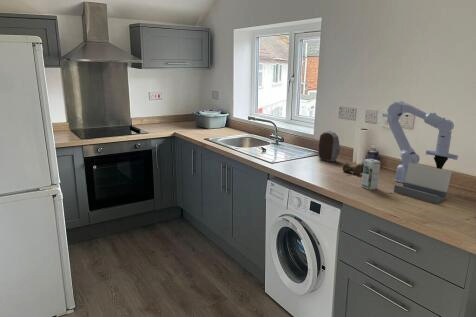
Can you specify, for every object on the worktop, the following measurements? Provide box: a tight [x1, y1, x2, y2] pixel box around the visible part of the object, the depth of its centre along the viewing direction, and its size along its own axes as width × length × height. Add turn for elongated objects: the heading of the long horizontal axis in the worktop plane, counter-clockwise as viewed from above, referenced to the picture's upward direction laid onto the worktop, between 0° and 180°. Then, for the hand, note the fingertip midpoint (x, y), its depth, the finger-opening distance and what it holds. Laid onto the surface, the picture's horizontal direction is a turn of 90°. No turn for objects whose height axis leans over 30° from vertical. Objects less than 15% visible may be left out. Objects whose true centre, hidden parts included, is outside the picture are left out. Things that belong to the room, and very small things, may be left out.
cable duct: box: [393, 182, 447, 204], centre depth 173 cm, size 20×10×4 cm, turn 39°
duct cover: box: [405, 163, 453, 193], centre depth 176 cm, size 20×10×1 cm
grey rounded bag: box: [317, 130, 341, 162], centre depth 238 cm, size 15×8×20 cm, turn 41°
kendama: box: [342, 161, 364, 176], centre depth 212 cm, size 6×10×20 cm
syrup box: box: [360, 158, 382, 191], centre depth 182 cm, size 6×6×14 cm
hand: (438, 170), depth 183 cm, fingers closed
